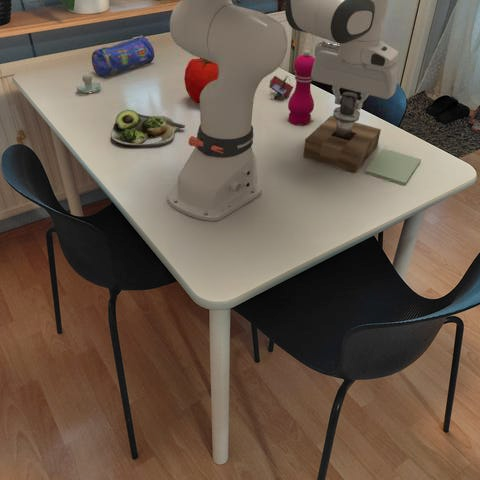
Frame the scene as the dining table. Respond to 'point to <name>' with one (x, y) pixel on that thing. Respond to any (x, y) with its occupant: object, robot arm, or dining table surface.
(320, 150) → the block
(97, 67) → the pencil case
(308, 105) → the pepper mill
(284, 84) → the geometric puzzle
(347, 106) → the flanged metal shaft
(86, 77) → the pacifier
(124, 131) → the salad plate
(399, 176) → the mat
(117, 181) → the dining table surface
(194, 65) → the tomato
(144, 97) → the dining table surface
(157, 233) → the dining table surface
